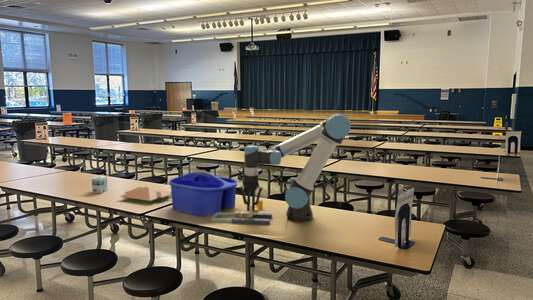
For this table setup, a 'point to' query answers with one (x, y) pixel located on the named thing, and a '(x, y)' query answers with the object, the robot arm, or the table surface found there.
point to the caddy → (202, 193)
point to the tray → (221, 218)
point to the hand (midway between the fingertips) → (251, 216)
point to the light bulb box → (99, 184)
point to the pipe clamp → (258, 206)
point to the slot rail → (255, 219)
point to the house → (146, 194)
